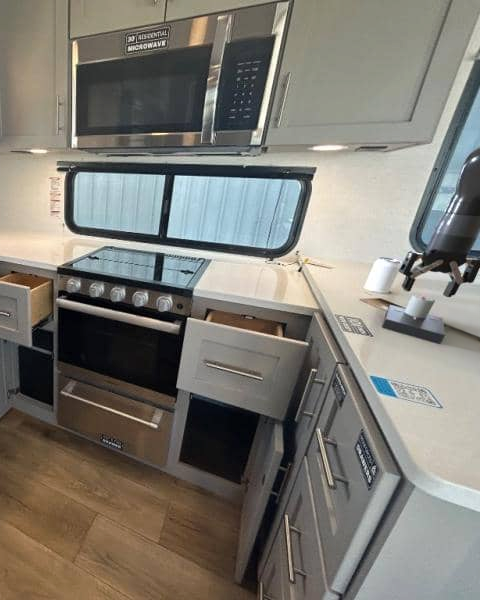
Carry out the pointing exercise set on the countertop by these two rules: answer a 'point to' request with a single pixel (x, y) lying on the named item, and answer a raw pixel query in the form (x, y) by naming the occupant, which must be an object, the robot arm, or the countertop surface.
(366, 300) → the cork mat
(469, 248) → the robot arm
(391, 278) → the can
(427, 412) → the countertop surface
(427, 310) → the knob
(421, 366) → the countertop surface
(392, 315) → the block
